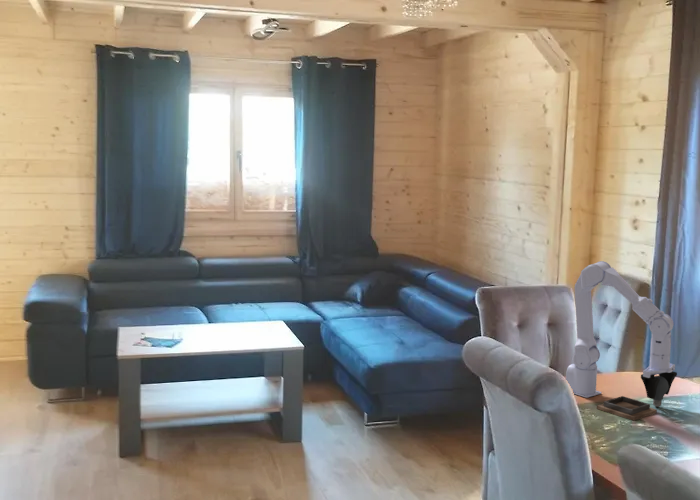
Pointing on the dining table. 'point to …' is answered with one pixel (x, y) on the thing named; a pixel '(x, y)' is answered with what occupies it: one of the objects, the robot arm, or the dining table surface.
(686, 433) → the dining table surface
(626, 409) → the socket board
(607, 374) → the dining table surface
